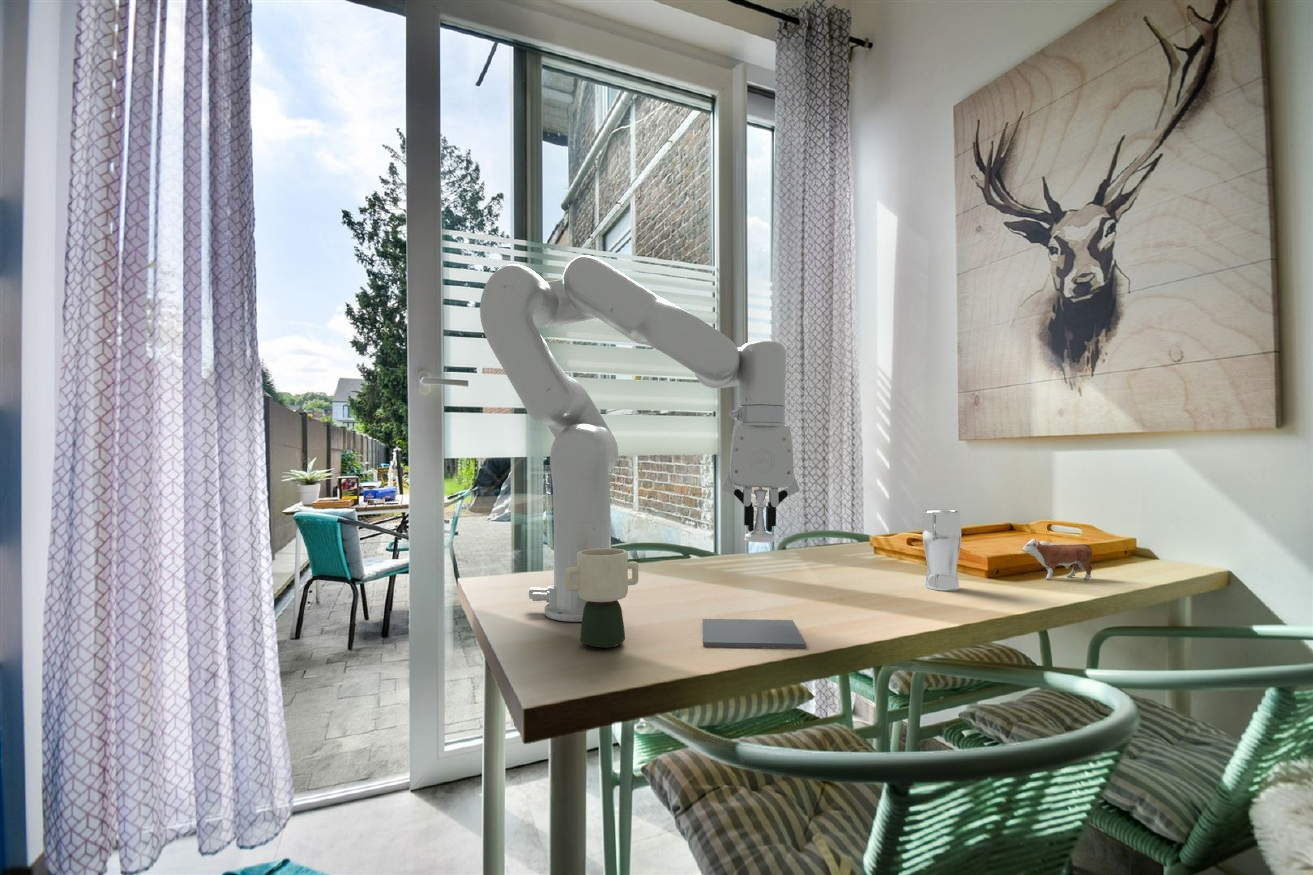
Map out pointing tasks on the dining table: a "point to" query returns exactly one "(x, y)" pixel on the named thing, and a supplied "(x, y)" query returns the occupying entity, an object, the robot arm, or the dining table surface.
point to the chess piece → (759, 521)
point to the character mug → (602, 593)
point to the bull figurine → (1061, 556)
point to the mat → (751, 633)
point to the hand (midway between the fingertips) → (759, 529)
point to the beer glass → (941, 548)
